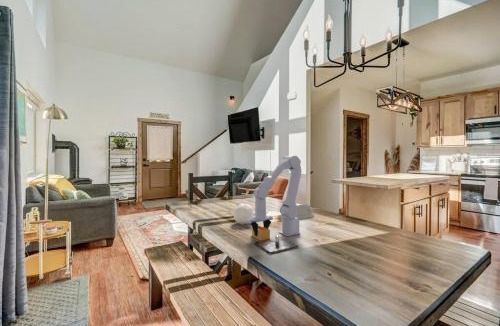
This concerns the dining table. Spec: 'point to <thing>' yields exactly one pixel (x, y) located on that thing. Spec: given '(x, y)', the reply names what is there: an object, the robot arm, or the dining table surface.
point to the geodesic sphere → (243, 213)
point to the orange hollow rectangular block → (262, 233)
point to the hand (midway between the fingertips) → (260, 234)
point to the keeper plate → (275, 245)
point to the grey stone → (304, 212)
